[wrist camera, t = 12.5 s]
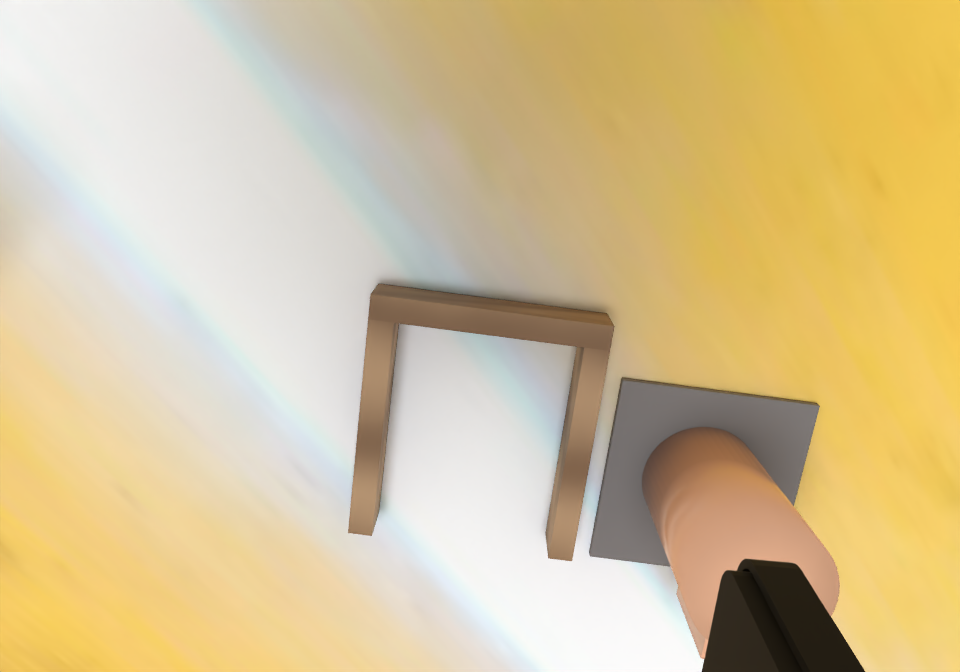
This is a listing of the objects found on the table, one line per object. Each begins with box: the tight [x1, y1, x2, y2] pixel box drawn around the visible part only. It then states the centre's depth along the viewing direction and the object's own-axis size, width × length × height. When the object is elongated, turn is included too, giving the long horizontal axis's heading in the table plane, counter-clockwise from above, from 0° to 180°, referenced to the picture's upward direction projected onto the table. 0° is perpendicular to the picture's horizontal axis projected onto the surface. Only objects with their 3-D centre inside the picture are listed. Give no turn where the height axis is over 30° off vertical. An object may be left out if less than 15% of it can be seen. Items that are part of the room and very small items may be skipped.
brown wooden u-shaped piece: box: [348, 284, 614, 561], centre depth 39 cm, size 12×11×2 cm
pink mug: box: [642, 427, 840, 659], centre depth 36 cm, size 8×6×10 cm
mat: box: [589, 378, 820, 566], centre depth 41 cm, size 10×10×1 cm
